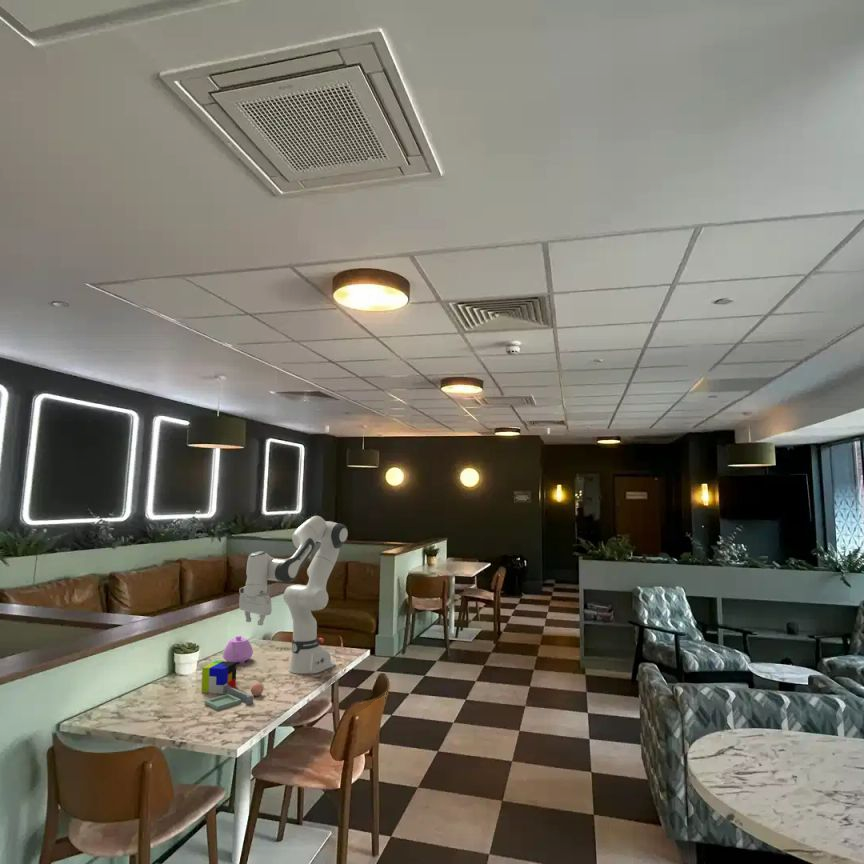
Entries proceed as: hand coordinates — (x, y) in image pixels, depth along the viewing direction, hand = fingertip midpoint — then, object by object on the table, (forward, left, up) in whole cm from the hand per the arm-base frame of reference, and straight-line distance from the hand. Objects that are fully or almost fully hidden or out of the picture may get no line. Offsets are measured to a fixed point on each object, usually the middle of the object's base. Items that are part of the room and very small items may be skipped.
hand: (254, 623), depth 240 cm
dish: (+15, +3, -28) cm, 32 cm away
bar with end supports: (+8, +2, -28) cm, 29 cm away
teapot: (-19, -45, -28) cm, 57 cm away
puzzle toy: (+7, -15, -29) cm, 33 cm away
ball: (+1, +5, -26) cm, 26 cm away
